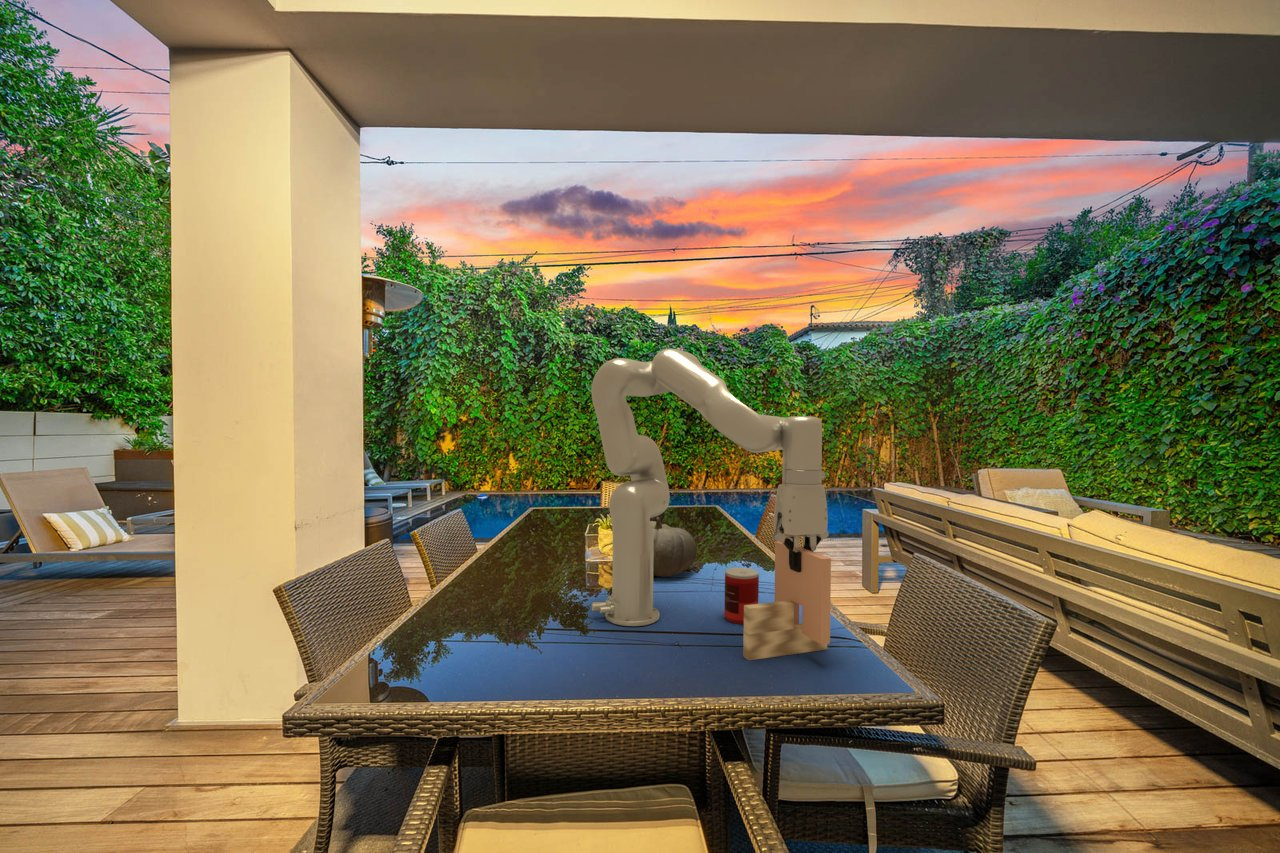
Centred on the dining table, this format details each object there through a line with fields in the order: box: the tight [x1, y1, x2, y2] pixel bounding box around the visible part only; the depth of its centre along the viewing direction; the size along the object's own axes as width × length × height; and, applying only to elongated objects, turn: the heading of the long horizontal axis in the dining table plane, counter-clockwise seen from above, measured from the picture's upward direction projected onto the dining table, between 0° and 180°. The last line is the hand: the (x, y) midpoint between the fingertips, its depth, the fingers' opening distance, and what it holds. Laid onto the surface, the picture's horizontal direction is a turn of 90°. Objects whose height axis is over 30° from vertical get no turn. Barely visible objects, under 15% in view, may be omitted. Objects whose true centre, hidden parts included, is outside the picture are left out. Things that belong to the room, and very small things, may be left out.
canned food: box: [724, 566, 760, 625], centre depth 133 cm, size 8×8×11 cm
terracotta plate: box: [774, 540, 832, 645], centre depth 114 cm, size 2×16×16 cm, turn 19°
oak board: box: [742, 601, 828, 661], centre depth 113 cm, size 18×2×10 cm, turn 109°
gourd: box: [650, 516, 698, 578], centre depth 173 cm, size 25×25×17 cm
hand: (801, 569), depth 114 cm, fingers closed on terracotta plate, 2 cm apart
